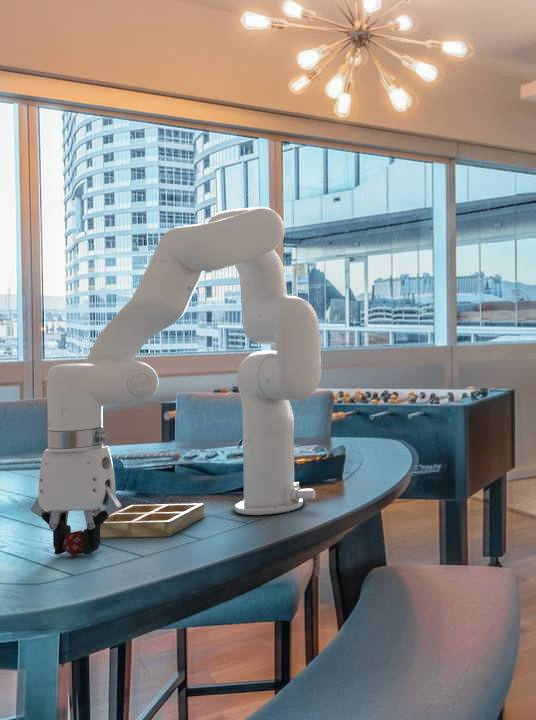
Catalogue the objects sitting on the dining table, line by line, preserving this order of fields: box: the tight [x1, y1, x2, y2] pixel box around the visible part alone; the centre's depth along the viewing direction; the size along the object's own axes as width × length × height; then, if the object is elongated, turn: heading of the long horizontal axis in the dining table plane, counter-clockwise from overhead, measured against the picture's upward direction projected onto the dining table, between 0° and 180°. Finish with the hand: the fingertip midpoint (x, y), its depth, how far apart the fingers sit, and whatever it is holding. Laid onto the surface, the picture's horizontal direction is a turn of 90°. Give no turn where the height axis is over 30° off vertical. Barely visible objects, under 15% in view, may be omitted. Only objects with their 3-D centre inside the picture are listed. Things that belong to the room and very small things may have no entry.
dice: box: [61, 529, 84, 556], centre depth 131 cm, size 4×4×4 cm
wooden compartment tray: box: [100, 503, 205, 539], centre depth 148 cm, size 14×14×3 cm
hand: (77, 550), depth 131 cm, fingers closed on dice, 3 cm apart
